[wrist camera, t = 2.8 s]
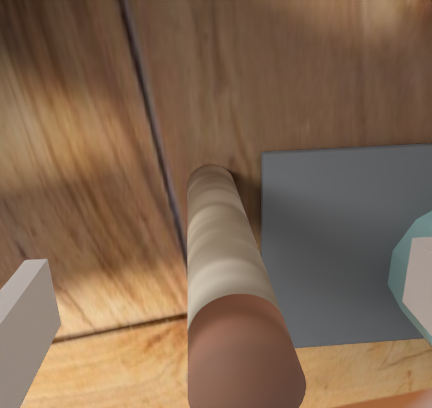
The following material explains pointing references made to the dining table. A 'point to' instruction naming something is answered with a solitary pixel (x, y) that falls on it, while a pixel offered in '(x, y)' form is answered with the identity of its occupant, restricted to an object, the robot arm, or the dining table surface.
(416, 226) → the bead
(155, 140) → the dining table surface
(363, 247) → the mat
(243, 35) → the dining table surface
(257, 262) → the dowel
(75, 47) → the dining table surface
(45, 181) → the dining table surface
